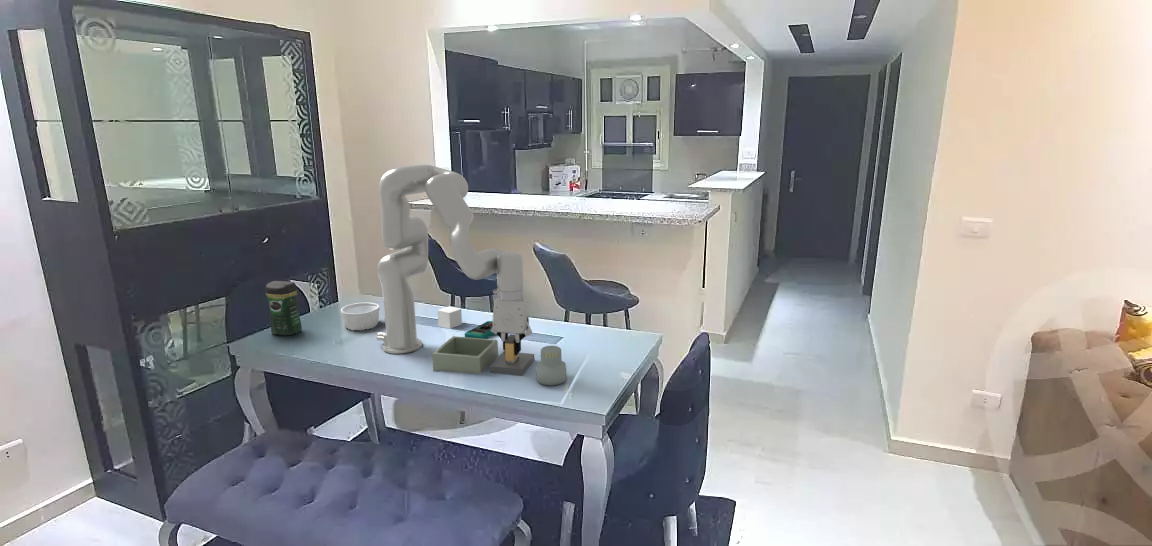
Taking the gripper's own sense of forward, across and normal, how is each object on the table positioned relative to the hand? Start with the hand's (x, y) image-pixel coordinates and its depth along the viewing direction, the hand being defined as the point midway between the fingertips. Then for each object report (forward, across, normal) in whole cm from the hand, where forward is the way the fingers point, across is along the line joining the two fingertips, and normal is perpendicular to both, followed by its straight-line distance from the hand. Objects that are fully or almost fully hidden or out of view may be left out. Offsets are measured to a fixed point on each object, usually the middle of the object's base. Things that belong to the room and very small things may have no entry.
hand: (512, 352), depth 183 cm
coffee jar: (+5, -88, +12) cm, 89 cm away
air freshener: (+5, +14, -7) cm, 17 cm away
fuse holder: (+5, 0, 0) cm, 5 cm away
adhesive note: (+5, -35, +32) cm, 48 cm away
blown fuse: (+4, 0, 0) cm, 4 cm away
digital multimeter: (+6, -19, +26) cm, 33 cm away
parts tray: (+5, -15, 0) cm, 16 cm away
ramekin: (+5, -66, +24) cm, 70 cm away
